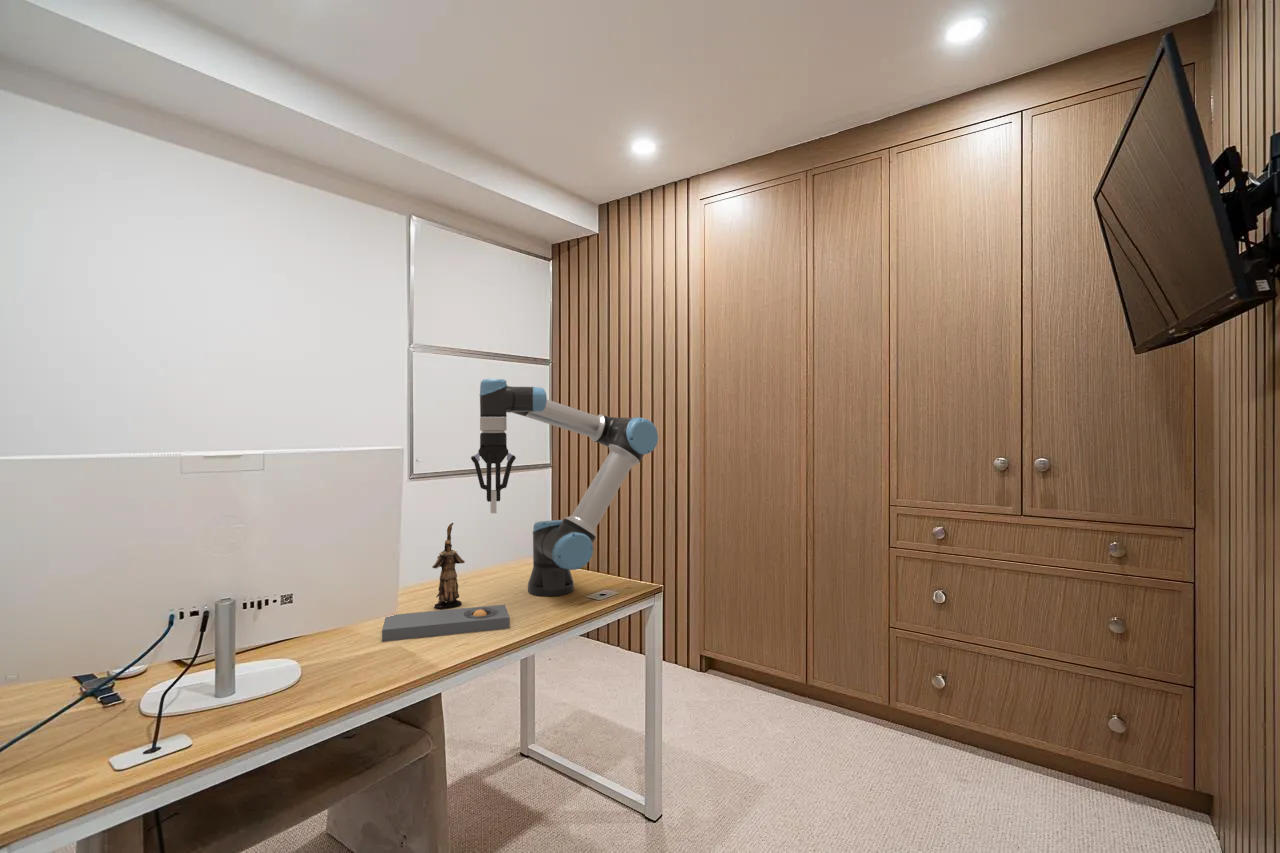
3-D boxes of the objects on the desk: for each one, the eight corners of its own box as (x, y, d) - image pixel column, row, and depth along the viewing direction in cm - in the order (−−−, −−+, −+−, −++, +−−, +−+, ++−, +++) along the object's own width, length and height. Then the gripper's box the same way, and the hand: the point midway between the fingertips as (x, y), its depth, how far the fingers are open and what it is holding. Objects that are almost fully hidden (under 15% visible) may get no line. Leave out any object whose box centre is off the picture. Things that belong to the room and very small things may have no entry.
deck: (505, 614, 178) (505, 604, 178) (509, 628, 166) (509, 617, 166) (386, 626, 168) (386, 615, 168) (382, 641, 156) (382, 629, 156)
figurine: (466, 604, 187) (466, 523, 186) (438, 612, 179) (438, 527, 179) (454, 600, 191) (454, 520, 190) (426, 608, 183) (426, 525, 183)
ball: (486, 621, 172) (486, 606, 172) (487, 625, 168) (487, 611, 168) (471, 622, 171) (471, 608, 171) (472, 627, 167) (472, 612, 167)
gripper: (514, 431, 184) (514, 509, 185) (469, 431, 180) (469, 511, 181) (517, 432, 177) (517, 513, 178) (470, 432, 173) (471, 515, 173)
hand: (493, 512), depth 179 cm, fingers closed
